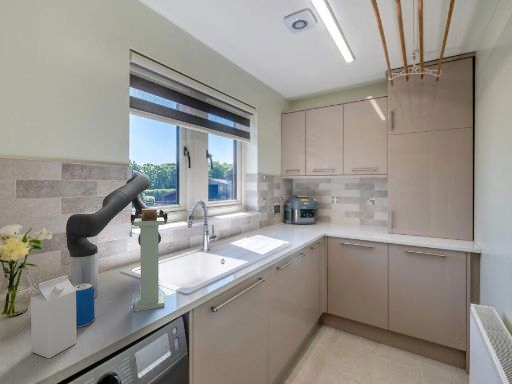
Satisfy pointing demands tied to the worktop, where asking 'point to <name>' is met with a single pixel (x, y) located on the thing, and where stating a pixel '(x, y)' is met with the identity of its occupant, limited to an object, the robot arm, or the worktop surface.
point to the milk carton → (53, 317)
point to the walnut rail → (149, 214)
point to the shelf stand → (149, 265)
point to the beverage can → (84, 304)
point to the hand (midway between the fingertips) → (149, 211)
